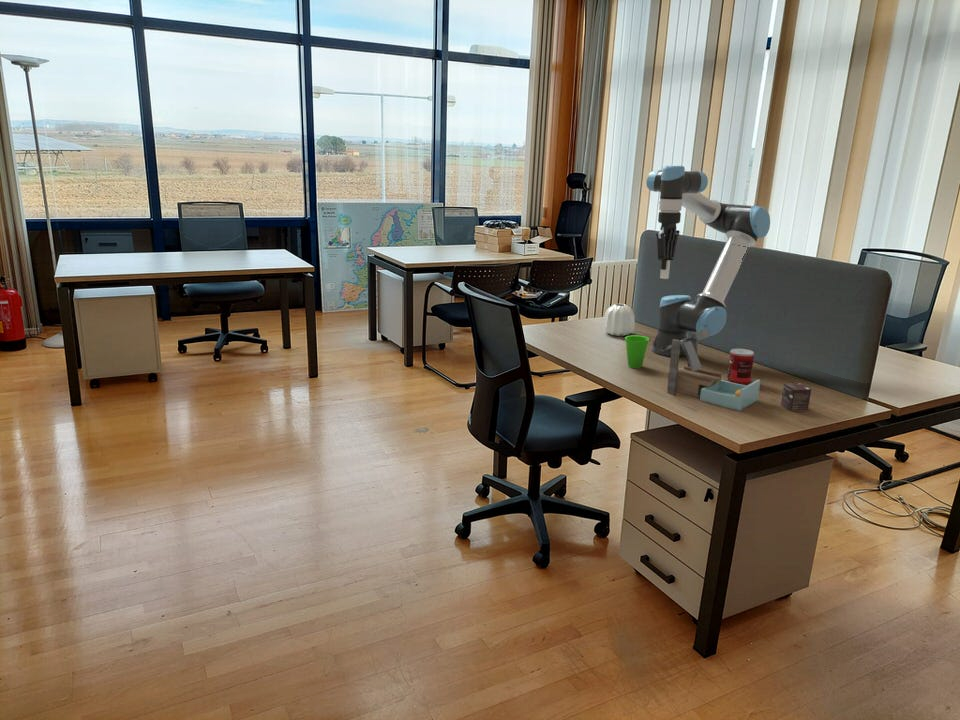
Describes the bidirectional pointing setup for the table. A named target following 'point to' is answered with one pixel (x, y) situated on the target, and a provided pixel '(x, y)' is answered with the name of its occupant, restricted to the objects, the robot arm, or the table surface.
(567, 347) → the table surface
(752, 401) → the light blue tray
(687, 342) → the lever
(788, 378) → the table surface
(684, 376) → the grey angular frame
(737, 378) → the canned food
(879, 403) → the table surface
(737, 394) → the ball
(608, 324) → the vase
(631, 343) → the cup
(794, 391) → the box
